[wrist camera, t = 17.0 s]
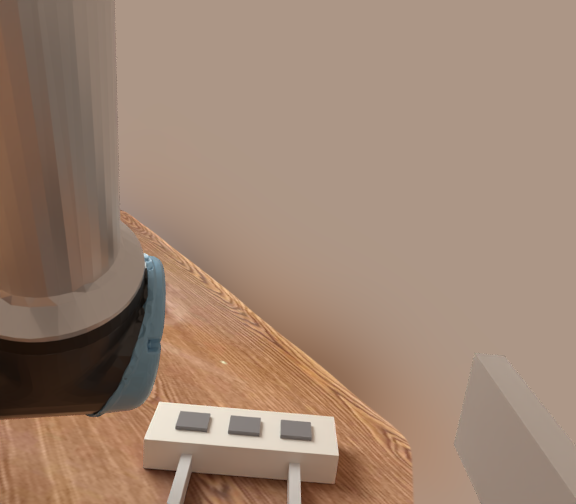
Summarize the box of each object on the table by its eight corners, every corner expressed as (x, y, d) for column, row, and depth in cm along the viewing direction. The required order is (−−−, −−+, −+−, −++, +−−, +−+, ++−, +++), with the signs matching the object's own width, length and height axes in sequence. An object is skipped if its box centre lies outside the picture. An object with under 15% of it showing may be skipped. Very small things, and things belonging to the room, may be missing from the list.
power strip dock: (108, 559, 40) (108, 521, 39) (158, 428, 55) (159, 398, 54) (345, 578, 40) (351, 541, 39) (330, 443, 56) (334, 413, 54)
